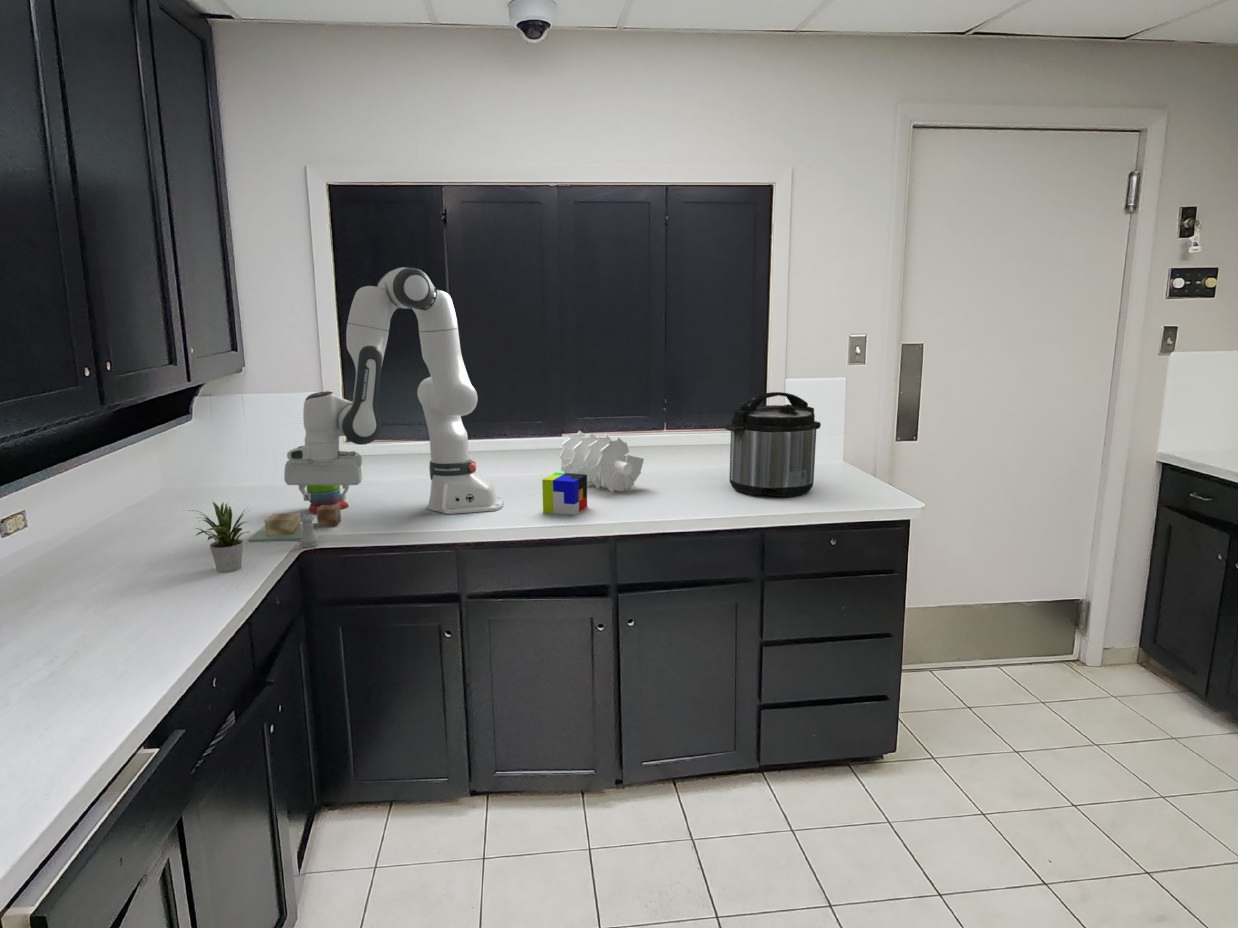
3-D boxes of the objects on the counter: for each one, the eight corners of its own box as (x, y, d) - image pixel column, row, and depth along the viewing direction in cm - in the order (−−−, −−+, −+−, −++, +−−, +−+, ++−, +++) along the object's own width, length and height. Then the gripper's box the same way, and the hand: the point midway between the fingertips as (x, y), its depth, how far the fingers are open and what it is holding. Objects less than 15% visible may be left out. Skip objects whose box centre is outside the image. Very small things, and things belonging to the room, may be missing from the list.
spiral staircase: (616, 507, 260) (563, 491, 277) (651, 476, 269) (598, 462, 286) (600, 461, 250) (546, 446, 267) (636, 430, 260) (582, 418, 277)
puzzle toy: (574, 515, 237) (574, 481, 235) (543, 512, 240) (542, 479, 238) (587, 506, 246) (586, 474, 244) (556, 504, 249) (555, 472, 247)
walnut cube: (341, 521, 231) (339, 504, 230) (336, 526, 226) (335, 509, 225) (322, 522, 231) (321, 505, 230) (318, 527, 226) (316, 509, 225)
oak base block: (300, 527, 223) (299, 512, 223) (293, 534, 217) (291, 519, 216) (274, 527, 223) (273, 513, 222) (265, 535, 216) (264, 520, 215)
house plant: (181, 568, 192) (173, 501, 189) (241, 554, 202) (234, 490, 199) (206, 582, 182) (198, 512, 179) (267, 567, 192) (260, 500, 189)
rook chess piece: (302, 549, 206) (300, 518, 204) (297, 545, 210) (295, 515, 208) (320, 546, 209) (318, 516, 207) (315, 542, 212) (313, 512, 210)
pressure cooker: (816, 481, 278) (820, 388, 271) (820, 501, 250) (825, 398, 244) (727, 477, 283) (729, 386, 277) (722, 497, 256) (724, 396, 249)
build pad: (317, 525, 227) (317, 523, 227) (303, 540, 214) (302, 537, 214) (265, 526, 226) (265, 524, 226) (247, 541, 212) (247, 539, 212)
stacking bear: (332, 515, 238) (327, 455, 234) (300, 513, 240) (295, 454, 236) (351, 505, 248) (346, 448, 244) (320, 504, 250) (316, 447, 246)
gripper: (363, 449, 228) (365, 497, 231) (288, 449, 226) (290, 497, 229) (358, 453, 222) (360, 502, 225) (280, 453, 220) (283, 503, 223)
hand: (324, 500), depth 227 cm, fingers open, 8 cm apart
